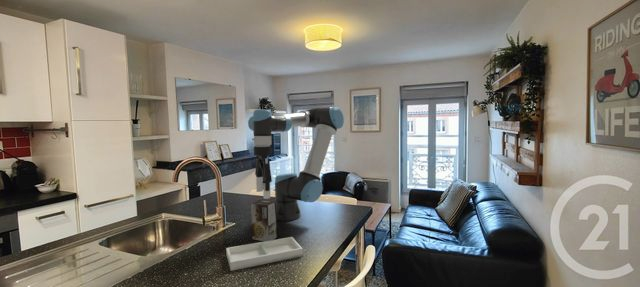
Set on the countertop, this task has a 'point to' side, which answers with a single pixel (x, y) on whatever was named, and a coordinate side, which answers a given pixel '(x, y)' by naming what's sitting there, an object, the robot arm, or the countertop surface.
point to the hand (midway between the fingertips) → (263, 194)
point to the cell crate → (263, 253)
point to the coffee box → (263, 220)
